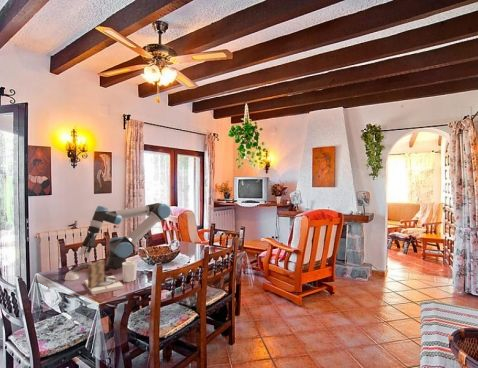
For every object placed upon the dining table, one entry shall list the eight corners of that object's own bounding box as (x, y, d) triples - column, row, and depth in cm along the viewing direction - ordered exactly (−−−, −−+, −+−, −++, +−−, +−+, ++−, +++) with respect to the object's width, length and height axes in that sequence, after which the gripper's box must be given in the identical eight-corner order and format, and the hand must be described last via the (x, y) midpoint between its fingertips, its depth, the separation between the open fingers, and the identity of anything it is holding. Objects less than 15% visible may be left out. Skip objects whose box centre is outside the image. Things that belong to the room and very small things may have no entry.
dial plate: (113, 278, 202) (113, 275, 202) (123, 288, 183) (123, 285, 183) (84, 283, 191) (84, 280, 191) (92, 294, 172) (92, 291, 172)
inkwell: (63, 277, 201) (64, 263, 201) (92, 273, 212) (92, 260, 212) (64, 281, 194) (65, 266, 194) (94, 277, 204) (94, 263, 204)
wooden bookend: (101, 278, 196) (102, 256, 196) (119, 279, 193) (120, 257, 193) (79, 288, 176) (80, 263, 176) (99, 290, 173) (99, 265, 173)
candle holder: (118, 280, 198) (119, 263, 198) (131, 276, 206) (131, 260, 206) (127, 283, 193) (127, 265, 193) (139, 279, 201) (140, 262, 201)
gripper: (85, 225, 216) (73, 253, 209) (94, 225, 197) (82, 256, 190) (95, 227, 220) (84, 255, 213) (105, 229, 201) (93, 259, 195)
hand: (83, 256), depth 202 cm, fingers open, 13 cm apart
